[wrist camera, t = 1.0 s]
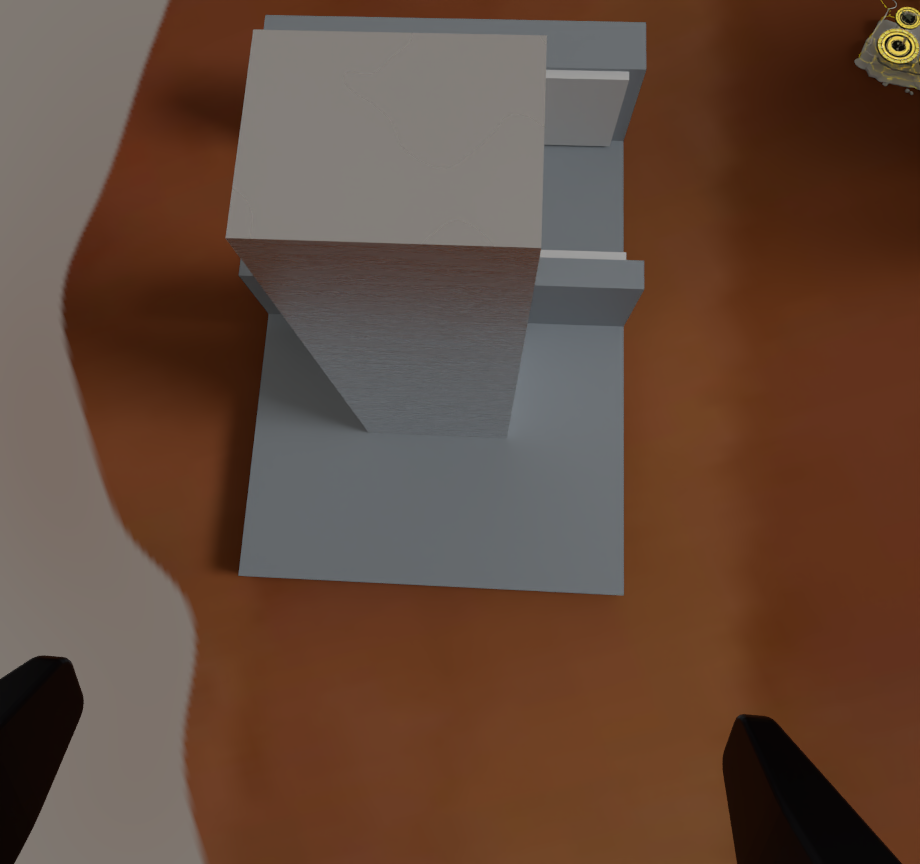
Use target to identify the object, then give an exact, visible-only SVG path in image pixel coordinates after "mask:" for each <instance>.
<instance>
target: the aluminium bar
mask: <svg viewBox="0 0 920 864" xmlns="http://www.w3.org/2000/svg"><path fill="white" fill-rule="evenodd" d="M546 52H547V35H500V34H450V33H399V32H349V31H299V30H253V37H252V44H251V52H250V59H249V67H248V74H247V82H246V89H245V97H244V104H243V112H242V119H241V127H240V134H239V142H238V149H237V157H236V164H235V172H234V179H233V187H232V194H231V202H230V209H229V217H228V224H227V232H226V239H227V240H228V242H229V243H230V245H231V246H232V247H233V249H234V250H235V251H236V253H237V254H238V255H239V257H240V258H241V260H242V261H243V262H244V264H245V265H246V266H247V268H248V269H249V270H250V272H251V273H252V274H253V276H254V277H255V279H256V280H257V281H258V283H259V284H260V285H261V287H262V288H263V289H264V291H265V292H266V294H267V295H268V296H269V298H270V299H271V300H272V302H273V303H274V304H275V306H276V307H277V309H278V310H279V311H280V313H281V314H282V315H283V317H284V318H285V319H286V321H287V322H288V323H289V325H290V326H291V328H292V329H293V330H294V332H295V333H296V334H297V336H298V337H299V338H300V340H301V341H302V343H303V344H304V345H305V347H306V348H307V349H308V351H309V352H310V353H311V355H312V356H313V357H314V359H315V360H316V362H317V363H318V364H319V366H320V367H321V368H322V370H323V371H324V372H325V374H326V375H327V377H328V378H329V379H330V381H331V382H332V383H333V385H334V386H335V387H336V389H337V390H338V391H339V393H340V394H341V396H342V397H343V398H344V400H345V401H346V402H347V404H348V405H349V406H350V408H351V409H352V411H353V412H354V413H355V415H356V416H357V417H358V419H359V420H360V421H361V423H362V424H363V425H364V427H365V428H366V430H367V431H368V432H369V433H385V434H409V435H432V436H456V437H479V438H503V439H507V435H508V430H509V424H510V419H511V413H512V408H513V402H514V396H515V391H516V385H517V380H518V374H519V369H520V363H521V358H522V352H523V347H524V341H525V335H526V330H527V324H528V319H529V313H530V308H531V302H532V297H533V291H534V286H535V280H536V274H537V269H538V263H539V258H540V252H541V239H542V202H543V164H544V127H545V90H546Z"/></svg>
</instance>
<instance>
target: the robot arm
mask: <svg viewBox="0 0 920 864" xmlns="http://www.w3.org/2000/svg"><path fill="white" fill-rule="evenodd" d="M83 701H84V700H83V694H82V691H81V688H80V686H79V682H78V679H77V677H76V674H75V671H74V668H73V665H72V663H71V661H70V660H68V659H67V658H64V657H55V656H37V657H34V658H32V659H30V660H29V661H27V662H26V663H24V664H23V665H21V666H19V667H18V668H17V669H15V670H13V671H12V672H10V673H9V674H7V675H6V676H4V677H3V678H1V679H0V864H14V863H15V861H16V859H17V857H18V855H19V854H20V852H21V850H22V848H23V846H24V844H25V842H26V840H27V838H28V836H29V834H30V832H31V830H32V829H33V827H34V824H35V822H36V820H37V817H38V815H39V813H40V811H41V809H42V807H43V804H44V802H45V800H46V797H47V795H48V792H49V790H50V788H51V785H52V783H53V780H54V778H55V776H56V774H57V771H58V769H59V767H60V764H61V762H62V760H63V757H64V754H65V752H66V750H67V748H68V745H69V743H70V740H71V738H72V736H73V734H74V731H75V729H76V726H77V724H78V722H79V719H80V717H81V714H82V710H83V704H84V703H83ZM722 765H723V775H724V782H725V788H726V795H727V801H728V808H729V814H730V820H731V827H732V833H733V840H734V846H735V853H736V859H737V864H902V863H901V862H900V861H899V860H898V859H897V858H896V856H895V855H894V854H893V853H892V852H891V851H890V850H889V849H888V847H887V846H886V845H885V844H884V843H883V842H882V841H881V840H880V838H879V837H878V836H877V835H876V834H875V833H874V832H873V831H872V829H871V828H870V827H869V826H868V825H867V824H866V823H865V822H864V820H863V819H862V818H861V817H860V816H859V815H858V814H857V813H856V811H855V810H854V809H853V808H852V807H851V806H850V805H849V804H848V802H847V801H846V800H845V799H844V798H843V797H842V796H841V795H840V793H839V792H838V791H837V790H836V789H835V788H834V787H833V786H832V784H831V783H830V782H829V781H828V780H827V779H826V778H825V777H824V775H823V774H822V773H821V772H820V771H819V770H818V769H817V768H816V766H815V765H814V764H813V763H812V762H811V761H810V760H809V759H808V757H807V756H806V755H805V754H804V753H803V752H802V751H801V750H800V748H799V747H798V746H797V745H796V744H795V743H794V742H793V741H792V739H791V738H790V737H789V736H788V735H787V734H786V733H785V732H784V730H783V729H782V728H781V727H780V726H779V725H778V724H777V723H776V722H775V721H774V720H773V719H771V718H769V717H766V716H758V715H746V714H742V715H739V716H738V717H737V718H736V720H735V722H734V725H733V727H732V730H731V733H730V736H729V739H728V742H727V744H726V747H725V750H724V754H723V763H722Z"/></svg>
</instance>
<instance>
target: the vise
mask: <svg viewBox="0 0 920 864" xmlns="http://www.w3.org/2000/svg"><path fill="white" fill-rule="evenodd" d="M264 30H299V31H349V32H399V33H450V34H500V35H547V52H546V90H545V127H544V164H543V202H542V239H541V252H540V258H539V263H538V269H537V274H536V280H535V286H534V291H533V297H532V302H531V308H530V313H529V319H528V324H527V330H526V335H525V341H524V347H523V352H522V358H521V363H520V369H519V374H518V380H517V385H516V391H515V396H514V402H513V408H512V413H511V419H510V424H509V430H508V435H507V439H503V438H479V437H456V436H432V435H409V434H385V433H369V432H368V431H367V430H366V428H365V427H364V425H363V424H362V423H361V421H360V420H359V419H358V417H357V416H356V415H355V413H354V412H353V411H352V409H351V408H350V406H349V405H348V404H347V402H346V401H345V400H344V398H343V397H342V396H341V394H340V393H339V391H338V390H337V389H336V387H335V386H334V385H333V383H332V382H331V381H330V379H329V378H328V377H327V375H326V374H325V372H324V371H323V370H322V368H321V367H320V366H319V364H318V363H317V362H316V360H315V359H314V357H313V356H312V355H311V353H310V352H309V351H308V349H307V348H306V347H305V345H304V344H303V343H302V341H301V340H300V338H299V337H298V336H297V334H296V333H295V332H294V330H293V329H292V328H291V326H290V325H289V323H288V322H287V321H286V319H285V318H284V317H283V315H282V314H281V313H280V311H279V310H278V309H277V307H276V306H275V304H274V303H273V302H272V300H271V299H270V298H269V296H268V295H267V294H266V292H265V291H264V289H263V288H262V287H261V285H260V284H259V283H258V281H257V280H256V279H255V277H254V276H253V274H252V273H251V272H250V270H249V269H248V268H247V266H246V265H245V264H244V262H243V261H242V260H241V261H240V269H239V277H240V278H241V279H242V280H243V282H244V283H245V284H246V285H247V287H248V288H249V289H250V291H251V292H252V293H253V294H254V296H255V297H256V298H257V300H258V301H259V302H260V303H261V305H262V306H263V307H264V308H265V310H266V311H267V312H268V314H269V316H268V324H267V333H266V341H265V350H264V359H263V367H262V376H261V385H260V393H259V402H258V410H257V419H256V428H255V436H254V445H253V454H252V462H251V471H250V480H249V488H248V497H247V505H246V514H245V523H244V531H243V540H242V549H241V557H240V566H239V575H238V576H254V577H273V578H293V579H312V580H332V581H351V582H371V583H391V584H410V585H430V586H449V587H469V588H488V589H508V590H528V591H547V592H567V593H586V594H606V595H624V378H623V327H624V325H625V323H626V321H627V319H628V318H629V316H630V314H631V312H632V310H633V308H634V307H635V305H636V303H637V301H638V299H639V298H640V296H641V294H642V292H643V290H644V261H637V260H626V252H623V140H624V137H625V134H626V131H627V128H628V125H629V122H630V119H631V116H632V112H633V109H634V106H635V103H636V100H637V97H638V94H639V91H640V88H641V84H642V81H643V78H644V75H645V72H646V22H598V21H545V20H493V19H440V18H387V17H335V16H282V15H266V16H265V23H264Z"/></svg>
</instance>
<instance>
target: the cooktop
mask: <svg viewBox="0 0 920 864" xmlns="http://www.w3.org/2000/svg"><path fill="white" fill-rule="evenodd" d="M893 1H894V0H893ZM894 2H895V1H894ZM882 3H883V2H882ZM895 3H896V2H895ZM884 6H885V5H884ZM896 6H897V3H896ZM896 6H895V7H896ZM885 7H886V6H885ZM895 7H894V8H895ZM889 9H891V8H889ZM889 9H888V10H889ZM887 12H888V11H887ZM886 14H887V13H886ZM889 16H890V15H889ZM885 17H887V16H886V15H885ZM885 17H884V18H885ZM891 17H892V16H891ZM882 18H883V17H882ZM894 18H895V21H896V23H897V24H898V25H897V24H896V23H894V22H891V21H888V20H884V19H883V20H881V21H879V22H878V24H877V27H876V28H875V30H874V32H873V33H872V35H870V36H871V37H869V38H868V39H867V40H866V42H865V44H864V47H863V49H862V52H861V53H862V54H861V53H860V54H861V56H859V57H860V58H858V59H856V60H855V61H854V62H855V65H858V67H859V68H862V69H865V70H866V71H867V72H868V73H867V74H868V75H869V76H870V77H873V78H876V79H877V80H878V81H879V82H884V83H882V84H883V85H884V86H887V85H888V84H889V83H890V84H893V85H899V86H902V87H913V88H915V89H918V90H920V13H919V12H918V11H917V10H915V9H914V8H911V7H904V8H901V9H899V10H898V11H897V12H896V14H895V17H894ZM899 26H900V27H901V28H902V29H906V30H902V29H901V28H900V27H899ZM860 54H859V55H860ZM909 91H910V90H909V89H906V90H905V92H906V93H907V92H909ZM910 94H911V95H913V92H912V91H911V92H910Z"/></svg>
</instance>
